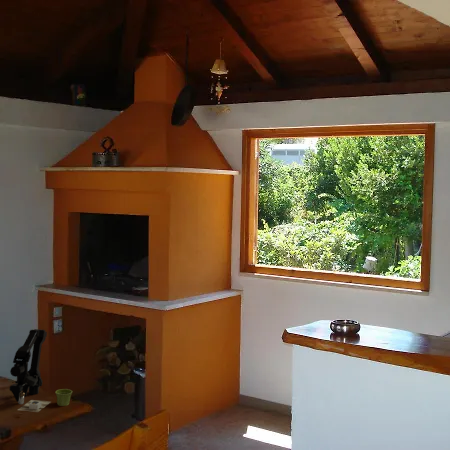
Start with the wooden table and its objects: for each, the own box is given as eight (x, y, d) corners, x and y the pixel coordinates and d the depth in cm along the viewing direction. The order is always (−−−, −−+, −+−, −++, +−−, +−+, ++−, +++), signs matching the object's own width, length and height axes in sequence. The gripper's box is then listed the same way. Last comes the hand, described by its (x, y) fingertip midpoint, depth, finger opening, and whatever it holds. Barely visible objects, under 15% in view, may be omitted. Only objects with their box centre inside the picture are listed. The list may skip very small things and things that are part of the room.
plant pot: (75, 405, 354) (75, 390, 354) (64, 410, 346) (65, 395, 345) (62, 402, 358) (62, 388, 358) (51, 407, 350) (51, 392, 349)
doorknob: (19, 404, 352) (19, 391, 351) (25, 405, 351) (25, 391, 351) (16, 406, 348) (17, 393, 348) (22, 407, 348) (23, 393, 347)
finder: (32, 405, 345) (33, 400, 345) (41, 406, 345) (41, 401, 344) (28, 408, 340) (29, 403, 340) (37, 409, 340) (37, 403, 339)
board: (31, 402, 356) (31, 399, 356) (51, 404, 355) (51, 401, 355) (17, 412, 338) (17, 409, 338) (38, 414, 337) (38, 411, 337)
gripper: (28, 377, 339) (27, 405, 339) (42, 368, 357) (41, 395, 358) (9, 375, 340) (8, 403, 341) (24, 367, 359) (23, 393, 359)
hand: (21, 398), depth 350 cm, fingers open, 9 cm apart
